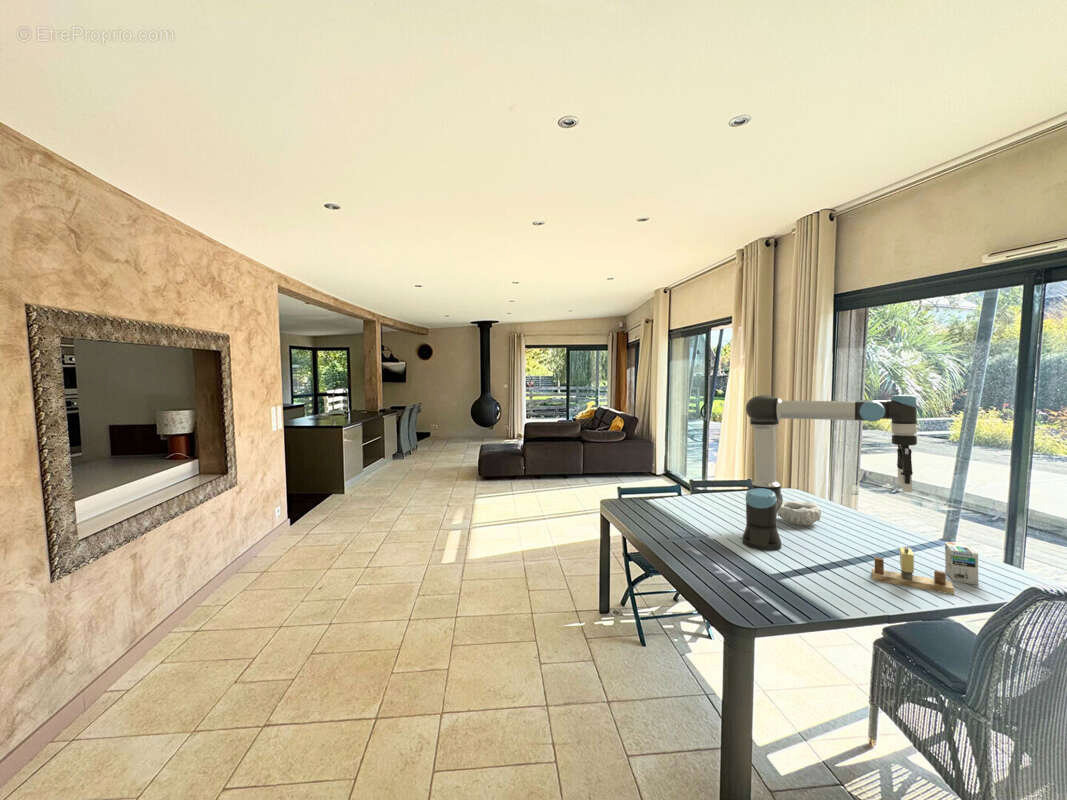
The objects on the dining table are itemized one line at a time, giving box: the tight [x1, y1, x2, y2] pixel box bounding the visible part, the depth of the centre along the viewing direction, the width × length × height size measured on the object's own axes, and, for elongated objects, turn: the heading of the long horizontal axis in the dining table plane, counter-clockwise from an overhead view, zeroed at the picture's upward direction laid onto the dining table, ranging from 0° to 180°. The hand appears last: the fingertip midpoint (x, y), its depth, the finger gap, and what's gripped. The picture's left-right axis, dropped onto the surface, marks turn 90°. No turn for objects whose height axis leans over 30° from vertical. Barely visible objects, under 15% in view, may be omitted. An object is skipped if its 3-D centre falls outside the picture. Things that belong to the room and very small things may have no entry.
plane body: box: [871, 556, 955, 595], centre depth 152 cm, size 21×6×7 cm, turn 55°
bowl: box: [776, 500, 822, 526], centre depth 220 cm, size 21×20×10 cm
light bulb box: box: [944, 541, 979, 586], centre depth 155 cm, size 11×7×11 cm, turn 148°
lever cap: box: [899, 546, 915, 574], centre depth 152 cm, size 3×7×7 cm, turn 145°
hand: (904, 488), depth 173 cm, fingers open, 13 cm apart
